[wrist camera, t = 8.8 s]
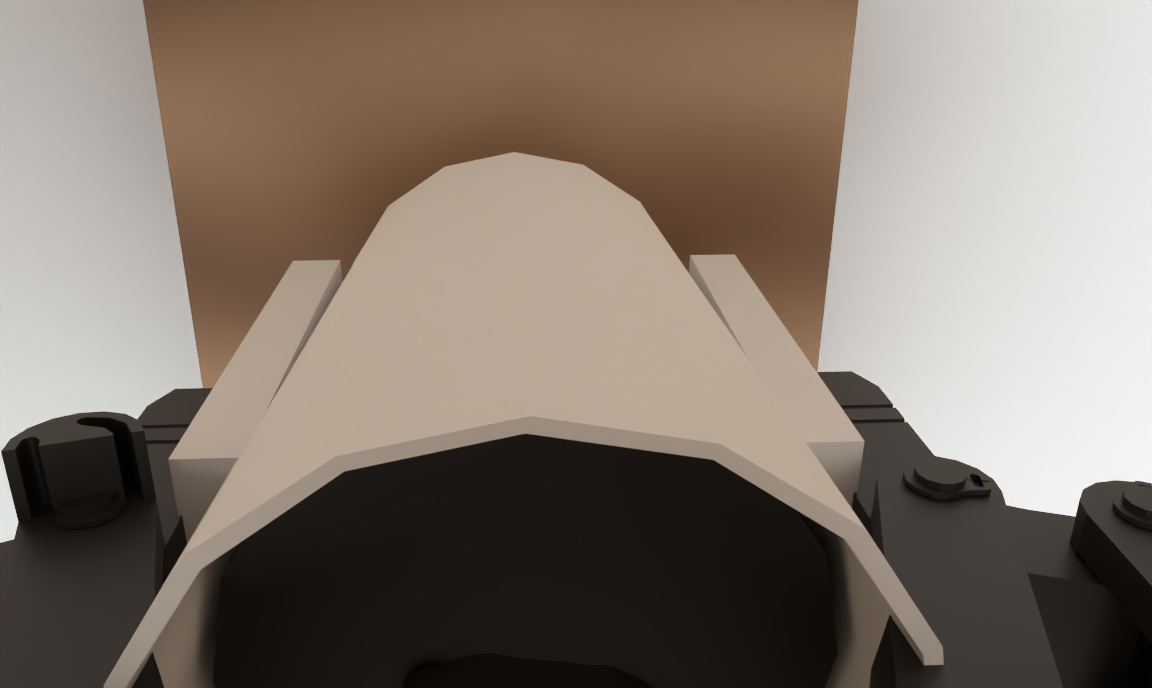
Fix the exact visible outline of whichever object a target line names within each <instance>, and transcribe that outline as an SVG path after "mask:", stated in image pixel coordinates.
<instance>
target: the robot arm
mask: <svg viewBox="0 0 1152 688" xmlns="http://www.w3.org/2000/svg"><path fill="white" fill-rule="evenodd" d="M689 274H690V275H691V277H692V278H693V280H694V281H695V283H696V284H697V286H698V287H699V288H700V290H701V291H702V293H703V294H704V296H705V297H706V299H707V300H708V302H709V303H710V304H711V306H712V307H713V309H714V310H715V312H716V313H717V315H718V316H719V317H720V319H721V320H722V322H723V323H724V325H725V326H726V328H727V329H728V330H729V332H730V333H731V335H732V336H733V338H734V339H735V341H736V342H737V343H738V345H739V346H740V348H741V349H742V351H743V352H744V354H745V355H746V356H747V358H748V359H749V361H750V362H751V364H752V365H753V367H754V368H755V369H756V371H757V372H758V374H759V375H760V377H761V378H762V380H763V381H764V382H765V384H766V385H767V387H768V388H769V390H770V391H771V393H772V394H773V395H774V397H775V398H776V400H777V401H778V403H779V404H780V406H781V407H782V408H783V410H784V411H785V413H786V414H787V416H788V417H789V419H790V420H791V421H792V423H793V424H794V426H795V427H796V429H797V430H798V432H799V433H800V434H801V436H802V437H803V439H804V440H805V442H806V443H807V445H808V446H809V447H810V449H811V450H812V452H813V453H814V455H815V456H816V458H817V459H818V460H819V462H820V463H821V465H822V466H823V468H824V469H825V471H826V472H827V473H828V475H829V476H830V478H831V479H832V481H833V482H834V484H835V485H836V486H837V488H838V489H839V491H840V492H841V494H842V495H843V497H844V498H845V499H846V501H847V502H848V504H849V505H850V507H851V508H852V510H853V511H854V512H855V514H856V515H857V517H858V518H859V520H860V521H861V523H862V524H863V526H864V527H865V528H866V530H867V531H868V533H869V534H870V536H871V538H872V539H873V541H874V542H875V544H876V545H877V547H878V548H879V550H880V551H881V553H882V554H883V556H884V557H885V559H886V560H887V562H888V564H889V565H890V567H891V568H892V570H893V571H894V573H895V574H896V576H897V577H898V579H899V580H900V582H901V583H902V585H903V587H904V588H905V590H906V591H907V593H908V594H909V596H910V597H911V599H912V600H913V602H914V603H915V605H916V606H917V608H918V609H919V611H920V613H921V614H922V616H923V617H924V619H925V620H926V622H927V623H928V625H929V626H930V628H931V629H932V631H933V632H934V634H935V636H936V637H937V639H938V640H939V642H940V643H941V645H942V646H943V660H944V665H923V663H922V662H921V660H920V659H919V657H918V656H917V654H916V653H915V651H914V650H913V648H912V647H911V645H910V644H909V642H908V641H907V639H906V638H905V636H904V635H903V633H902V632H901V630H900V629H899V627H898V626H897V624H896V623H895V621H894V620H893V618H892V617H891V615H889V618H888V621H887V624H886V627H885V630H884V633H883V635H882V638H881V641H880V644H879V647H878V650H877V653H876V656H875V659H874V662H873V665H872V667H871V675H870V686H869V688H1152V484H1151V483H1146V482H1141V481H1135V482H1127V481H1108V482H1100V483H1095V484H1093V485H1091V486H1089V487H1087V488H1086V489H1084V490H1083V492H1082V495H1081V498H1080V501H1079V505H1078V510H1077V514H1076V517H1073V516H1067V515H1060V514H1053V513H1046V512H1039V511H1032V510H1026V509H1021V508H1016V507H1011V506H1007V505H1006V504H1005V500H1004V497H1003V494H1002V491H1001V490H1000V488H999V487H998V486H997V484H996V483H995V481H994V480H993V479H992V478H990V477H989V476H987V475H986V474H984V473H983V472H981V471H980V470H978V469H977V468H974V467H972V466H969V465H967V464H964V463H961V462H959V461H956V460H951V459H946V458H941V457H936V456H934V455H933V454H932V452H931V451H930V450H929V449H928V447H927V446H926V445H925V444H924V442H923V441H922V440H921V439H920V437H919V436H918V435H917V434H916V433H915V431H914V430H913V429H912V428H911V426H910V425H909V424H908V423H907V422H904V418H903V416H902V415H901V414H900V413H899V411H898V410H897V409H896V408H893V404H892V403H891V402H890V400H889V399H888V398H887V397H886V395H885V394H884V393H883V392H882V390H881V389H880V388H879V387H878V386H876V385H875V384H873V383H871V382H869V381H868V380H866V379H864V378H862V377H861V376H859V375H857V374H855V373H854V372H816V371H815V369H814V368H813V366H812V365H811V363H810V362H809V360H808V359H807V358H806V356H805V355H804V353H803V352H802V350H801V349H800V348H799V346H798V345H797V343H796V342H795V340H794V339H793V337H792V336H791V335H790V333H789V332H788V330H787V329H786V327H785V326H784V325H783V323H782V322H781V320H780V319H779V317H778V316H777V314H776V313H775V312H774V310H773V309H772V307H771V306H770V304H769V303H768V302H767V300H766V299H765V297H764V296H763V294H762V293H761V292H760V290H759V289H758V287H757V286H756V284H755V283H754V281H753V280H752V279H751V277H750V276H749V274H748V273H747V271H746V270H745V269H744V267H743V266H742V264H741V263H740V261H739V260H738V258H737V257H736V256H735V254H731V255H690V265H689ZM341 284H342V275H341V264H340V260H307V261H293V262H292V263H291V265H290V267H289V268H288V270H287V271H286V273H285V275H284V276H283V278H282V279H281V281H280V282H279V284H278V286H277V287H276V289H275V290H274V292H273V294H272V295H271V297H270V298H269V300H268V302H267V303H266V305H265V306H264V308H263V309H262V311H261V313H260V314H259V316H258V317H257V319H256V321H255V322H254V324H253V325H252V327H251V329H250V330H249V332H248V333H247V335H246V336H245V338H244V340H243V341H242V343H241V344H240V346H239V348H238V349H237V351H236V352H235V354H234V356H233V357H232V359H231V360H230V362H229V363H228V365H227V367H226V368H225V370H224V371H223V373H222V375H221V376H220V378H219V379H218V381H217V383H216V384H215V386H214V387H213V388H199V389H175V390H173V391H171V392H170V393H168V394H166V395H165V396H163V397H162V398H160V399H158V400H157V401H155V402H153V403H152V404H150V405H149V406H147V407H146V409H145V410H144V411H143V413H142V414H141V416H140V417H139V418H138V420H137V419H135V418H133V417H130V416H128V415H126V414H120V413H112V412H90V413H78V414H73V415H69V416H64V417H59V418H55V419H51V420H48V421H46V422H43V423H40V424H38V425H35V426H33V427H30V428H28V429H26V430H25V431H23V432H21V433H20V434H18V435H17V436H15V437H13V438H12V439H10V441H9V442H8V443H7V445H6V446H5V447H4V449H3V450H2V451H1V453H2V457H3V461H4V465H5V469H6V473H7V477H8V481H9V485H10V489H11V493H12V497H13V501H14V505H15V509H16V513H17V517H18V521H19V523H18V527H17V531H16V535H15V539H14V540H10V541H7V542H3V543H0V688H104V684H105V682H106V680H107V679H108V677H109V675H110V674H111V672H112V670H113V669H114V667H115V665H116V663H117V662H118V660H119V658H120V657H121V655H122V653H123V652H124V650H125V648H126V647H127V645H128V643H129V642H130V640H131V638H132V637H133V635H134V633H135V631H136V630H137V628H138V626H139V625H140V623H141V621H142V620H143V618H144V616H145V615H146V613H147V611H148V610H149V608H150V606H151V604H152V603H153V601H154V599H155V598H156V596H157V594H158V593H159V591H160V589H161V588H162V586H163V584H164V583H165V581H166V579H167V577H168V576H169V574H170V572H171V571H172V569H173V567H174V566H175V564H176V562H177V561H178V559H179V557H180V556H181V554H182V552H183V550H184V549H185V547H186V545H187V544H188V542H189V540H190V539H191V537H192V535H193V534H194V532H195V530H196V529H197V527H198V525H199V523H200V522H201V520H202V518H203V517H204V515H205V513H206V512H207V510H208V508H209V507H210V505H211V503H212V502H213V500H214V498H215V497H216V495H217V493H218V491H219V490H220V488H221V486H222V485H223V483H224V481H225V480H226V478H227V476H228V475H229V473H230V471H231V470H232V468H233V466H234V464H235V463H236V461H237V459H238V458H239V456H240V454H241V453H242V451H243V449H244V448H245V446H246V444H247V443H248V441H249V439H250V438H251V436H252V434H253V433H254V431H255V429H256V427H257V426H258V424H259V422H260V421H261V419H262V417H263V416H264V414H265V412H266V411H267V409H268V407H269V406H270V404H271V402H272V400H273V399H274V397H275V395H276V394H277V392H278V390H279V389H280V387H281V385H282V383H283V382H284V380H285V378H286V377H287V375H288V373H289V372H290V370H291V368H292V367H293V365H294V363H295V362H296V360H297V358H298V357H299V355H300V353H301V351H302V350H303V348H304V346H305V345H306V343H307V341H308V340H309V338H310V336H311V335H312V333H313V331H314V330H315V328H316V326H317V324H318V323H319V321H320V319H321V318H322V316H323V314H324V313H325V311H326V309H327V308H328V306H329V304H330V303H331V301H332V299H333V297H334V296H335V294H336V292H337V291H338V289H339V287H340V286H341ZM132 688H164V685H163V682H162V679H161V676H160V673H159V670H158V667H157V663H156V660H155V657H154V654H153V652H152V654H151V655H150V657H149V659H148V661H147V662H146V664H145V666H144V667H143V669H142V671H141V673H140V674H139V676H138V678H137V679H136V681H135V683H134V685H133V686H132Z"/></svg>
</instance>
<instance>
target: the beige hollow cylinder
mask: <svg viewBox="0 0 1152 688" xmlns="http://www.w3.org/2000/svg"><path fill="white" fill-rule="evenodd" d="M889 615H891V617H892V618H893V620H894V621H895V623H896V624H897V626H898V627H899V629H900V630H901V632H902V633H903V635H904V636H905V638H906V639H907V641H908V642H909V644H910V645H911V647H912V648H913V650H914V651H915V653H916V654H917V656H918V657H919V659H920V660H921V662H922V663H923V665H944V660H943V646H942V645H941V643H940V642H939V640H938V639H937V637H936V636H935V634H934V632H933V631H932V629H931V628H930V626H929V625H928V623H927V622H926V620H925V619H924V617H923V616H922V614H921V613H920V611H919V609H918V608H917V606H916V605H915V603H914V602H913V600H912V599H911V597H910V596H909V594H908V593H907V591H906V590H905V588H904V587H903V585H902V583H901V582H900V580H899V579H898V577H897V576H896V574H895V573H894V571H893V570H892V568H891V567H890V565H889V564H888V562H887V560H886V559H885V557H884V556H883V554H882V553H881V551H880V550H879V548H878V547H877V545H876V544H875V542H874V541H873V539H872V538H871V536H870V534H869V533H868V531H867V530H866V528H865V527H864V526H863V524H862V523H861V521H860V520H859V518H858V517H857V515H856V514H855V512H854V511H853V510H852V508H851V507H850V505H849V504H848V502H847V501H846V499H845V498H844V497H843V495H842V494H841V492H840V491H839V489H838V488H837V486H836V485H835V484H834V482H833V481H832V479H831V478H830V476H829V475H828V473H827V472H826V471H825V469H824V468H823V466H822V465H821V463H820V462H819V460H818V459H817V458H816V456H815V455H814V453H813V452H812V450H811V449H810V447H809V446H808V445H807V443H806V442H805V440H804V439H803V437H802V436H801V434H800V433H799V432H798V430H797V429H796V427H795V426H794V424H793V423H792V421H791V420H790V419H789V417H788V416H787V414H786V413H785V411H784V410H783V408H782V407H781V406H780V404H779V403H778V401H777V400H776V398H775V397H774V395H773V394H772V393H771V391H770V390H769V388H768V387H767V385H766V384H765V382H764V381H763V380H762V378H761V377H760V375H759V374H758V372H757V371H756V369H755V368H754V367H753V365H752V364H751V362H750V361H749V359H748V358H747V356H746V355H745V354H744V352H743V351H742V349H741V348H740V346H739V345H738V343H737V342H736V341H735V339H734V338H733V336H732V335H731V333H730V332H729V330H728V329H727V328H726V326H725V325H724V323H723V322H722V320H721V319H720V317H719V316H718V315H717V313H716V312H715V310H714V309H713V307H712V306H711V304H710V303H709V302H708V300H707V299H706V297H705V296H704V294H703V293H702V291H701V290H700V288H699V287H698V286H697V284H696V283H695V281H694V280H693V278H692V277H691V275H690V274H689V273H688V271H687V270H686V268H685V267H684V265H683V264H682V262H681V261H680V260H679V258H678V257H677V255H676V254H675V252H674V251H673V249H672V248H671V247H670V245H669V244H668V242H667V241H666V239H665V238H664V236H663V235H662V234H661V232H660V231H659V229H658V228H657V226H656V225H655V223H654V222H653V221H652V219H651V218H650V216H649V215H648V213H647V212H646V210H645V208H644V207H643V205H642V204H641V202H640V201H638V200H637V199H635V198H634V197H632V196H630V195H629V194H627V193H626V192H624V191H623V190H621V189H620V188H618V187H617V186H615V185H614V184H612V183H611V182H609V181H607V180H606V179H604V178H603V177H601V176H600V175H598V174H597V173H595V172H594V171H592V170H591V169H589V168H587V167H586V166H584V165H582V164H577V163H571V162H566V161H560V160H555V159H549V158H544V157H539V156H533V155H528V154H522V153H517V152H512V153H507V154H502V155H497V156H493V157H488V158H483V159H478V160H474V161H469V162H464V163H460V164H455V165H450V166H445V167H444V168H442V169H441V170H439V171H438V172H436V173H435V174H433V175H432V176H431V177H429V178H428V179H426V180H425V181H423V182H422V183H421V184H419V185H418V186H416V187H415V188H413V189H412V190H410V191H409V192H408V193H406V194H405V195H403V196H402V197H400V198H399V199H397V200H396V201H395V202H393V203H392V204H390V205H389V206H388V207H387V209H386V210H385V212H384V214H383V215H382V217H381V219H380V220H379V222H378V224H377V225H376V227H375V228H374V230H373V232H372V233H371V235H370V237H369V238H368V240H367V242H366V243H365V245H364V246H363V248H362V250H361V251H360V253H359V255H358V256H357V258H356V260H355V261H354V263H353V265H352V267H351V269H350V270H349V272H348V274H347V276H346V277H345V279H344V281H343V282H342V284H341V286H340V287H339V289H338V291H337V292H336V294H335V296H334V297H333V299H332V301H331V303H330V304H329V306H328V308H327V309H326V311H325V313H324V314H323V316H322V318H321V319H320V321H319V323H318V324H317V326H316V328H315V330H314V331H313V333H312V335H311V336H310V338H309V340H308V341H307V343H306V345H305V346H304V348H303V350H302V351H301V353H300V355H299V357H298V358H297V360H296V362H295V363H294V365H293V367H292V368H291V370H290V372H289V373H288V375H287V377H286V378H285V380H284V382H283V383H282V385H281V387H280V389H279V390H278V392H277V394H276V395H275V397H274V399H273V400H272V402H271V404H270V406H269V407H268V409H267V411H266V412H265V414H264V416H263V417H262V419H261V421H260V422H259V424H258V426H257V427H256V429H255V431H254V433H253V434H252V436H251V438H250V439H249V441H248V443H247V444H246V446H245V448H244V449H243V451H242V453H241V454H240V456H239V458H238V459H237V461H236V463H235V464H234V466H233V468H232V470H231V471H230V473H229V475H228V476H227V478H226V480H225V481H224V483H223V485H222V486H221V488H220V490H219V491H218V493H217V495H216V497H215V498H214V500H213V502H212V503H211V505H210V507H209V508H208V510H207V512H206V513H205V515H204V517H203V518H202V520H201V522H200V523H199V525H198V527H197V529H196V530H195V532H194V534H193V535H192V537H191V539H190V540H189V542H188V544H187V545H186V547H185V549H184V550H183V552H182V554H181V556H180V557H179V559H178V561H177V562H176V564H175V566H174V567H173V569H172V571H171V572H170V574H169V576H168V577H167V579H166V581H165V583H164V584H163V586H162V588H161V589H160V591H159V593H158V594H157V596H156V598H155V599H154V601H153V603H152V604H151V606H150V608H149V610H148V611H147V613H146V615H145V616H144V618H143V620H142V621H141V623H140V625H139V626H138V628H137V630H136V631H135V633H134V635H133V637H132V638H131V640H130V642H129V643H128V645H127V647H126V648H125V650H124V652H123V653H122V655H121V657H120V658H119V660H118V662H117V663H116V665H115V667H114V669H113V670H112V672H111V674H110V675H109V677H108V679H107V680H106V682H105V684H104V688H132V686H133V685H134V683H135V681H136V679H137V678H138V676H139V674H140V673H141V671H142V669H143V667H144V666H145V664H146V662H147V661H148V659H149V657H150V655H151V654H152V652H153V654H154V657H155V660H156V663H157V667H158V670H159V673H160V676H161V679H162V682H163V685H164V688H869V686H870V675H871V667H872V665H873V662H874V659H875V656H876V653H877V650H878V647H879V644H880V641H881V638H882V635H883V633H884V630H885V627H886V624H887V621H888V618H889Z"/></svg>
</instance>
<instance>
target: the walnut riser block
mask: <svg viewBox="0 0 1152 688" xmlns="http://www.w3.org/2000/svg"><path fill="white" fill-rule="evenodd" d="M143 3H144V10H145V16H146V23H147V29H148V35H149V42H150V48H151V55H152V61H153V68H154V74H155V81H156V87H157V93H158V100H159V106H160V113H161V119H162V126H163V132H164V139H165V145H166V152H167V158H168V164H169V171H170V177H171V184H172V190H173V197H174V203H175V210H176V216H177V222H178V229H179V235H180V242H181V248H182V255H183V261H184V268H185V274H186V281H187V287H188V293H189V300H190V306H191V313H192V319H193V326H194V332H195V339H196V345H197V351H198V358H199V364H200V371H201V377H202V384H203V388H213V387H214V386H215V384H216V383H217V381H218V379H219V378H220V376H221V375H222V373H223V371H224V370H225V368H226V367H227V365H228V363H229V362H230V360H231V359H232V357H233V356H234V354H235V352H236V351H237V349H238V348H239V346H240V344H241V343H242V341H243V340H244V338H245V336H246V335H247V333H248V332H249V330H250V329H251V327H252V325H253V324H254V322H255V321H256V319H257V317H258V316H259V314H260V313H261V311H262V309H263V308H264V306H265V305H266V303H267V302H268V300H269V298H270V297H271V295H272V294H273V292H274V290H275V289H276V287H277V286H278V284H279V282H280V281H281V279H282V278H283V276H284V275H285V273H286V271H287V270H288V268H289V267H290V265H291V263H292V262H293V261H307V260H340V264H341V275H342V282H343V281H344V279H345V277H346V276H347V274H348V272H349V270H350V269H351V267H352V265H353V263H354V261H355V260H356V258H357V256H358V255H359V253H360V251H361V250H362V248H363V246H364V245H365V243H366V242H367V240H368V238H369V237H370V235H371V233H372V232H373V230H374V228H375V227H376V225H377V224H378V222H379V220H380V219H381V217H382V215H383V214H384V212H385V210H386V209H387V207H388V206H389V205H390V204H392V203H393V202H395V201H396V200H397V199H399V198H400V197H402V196H403V195H405V194H406V193H408V192H409V191H410V190H412V189H413V188H415V187H416V186H418V185H419V184H421V183H422V182H423V181H425V180H426V179H428V178H429V177H431V176H432V175H433V174H435V173H436V172H438V171H439V170H441V169H442V168H444V167H445V166H450V165H455V164H460V163H464V162H469V161H474V160H478V159H483V158H488V157H493V156H497V155H502V154H507V153H512V152H517V153H522V154H528V155H533V156H539V157H544V158H549V159H555V160H560V161H566V162H571V163H577V164H582V165H584V166H586V167H587V168H589V169H591V170H592V171H594V172H595V173H597V174H598V175H600V176H601V177H603V178H604V179H606V180H607V181H609V182H611V183H612V184H614V185H615V186H617V187H618V188H620V189H621V190H623V191H624V192H626V193H627V194H629V195H630V196H632V197H634V198H635V199H637V200H638V201H640V202H641V204H642V205H643V207H644V208H645V210H646V212H647V213H648V215H649V216H650V218H651V219H652V221H653V222H654V223H655V225H656V226H657V228H658V229H659V231H660V232H661V234H662V235H663V236H664V238H665V239H666V241H667V242H668V244H669V245H670V247H671V248H672V249H673V251H674V252H675V254H676V255H677V257H678V258H679V260H680V261H681V262H682V264H683V265H684V267H685V268H686V270H687V271H688V273H689V265H690V255H731V254H735V256H736V257H737V258H738V260H739V261H740V263H741V264H742V266H743V267H744V269H745V270H746V271H747V273H748V274H749V276H750V277H751V279H752V280H753V281H754V283H755V284H756V286H757V287H758V289H759V290H760V292H761V293H762V294H763V296H764V297H765V299H766V300H767V302H768V303H769V304H770V306H771V307H772V309H773V310H774V312H775V313H776V314H777V316H778V317H779V319H780V320H781V322H782V323H783V325H784V326H785V327H786V329H787V330H788V332H789V333H790V335H791V336H792V337H793V339H794V340H795V342H796V343H797V345H798V346H799V348H800V349H801V350H802V352H803V353H804V355H805V356H806V358H807V359H808V360H809V362H810V363H811V365H812V366H813V368H814V369H815V371H816V372H817V366H818V357H819V348H820V339H821V330H822V321H823V313H824V304H825V295H826V286H827V277H828V268H829V259H830V250H831V241H832V232H833V223H834V214H835V205H836V196H837V187H838V178H839V169H840V160H841V151H842V142H843V133H844V124H845V115H846V106H847V97H848V88H849V79H850V70H851V61H852V52H853V43H854V34H855V25H856V16H857V7H858V0H143Z"/></svg>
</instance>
